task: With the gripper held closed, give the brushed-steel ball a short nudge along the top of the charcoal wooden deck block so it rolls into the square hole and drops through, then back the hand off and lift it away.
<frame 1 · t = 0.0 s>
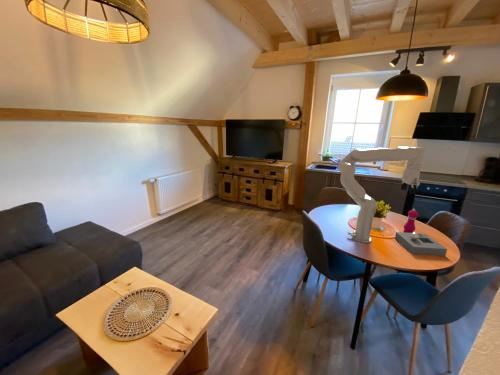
hand: (407, 191, 143), 37 cm above the table, tool pointing down, fingers open, 9 cm apart
board: (418, 246, 147), on the table
pepper mill: (408, 233, 166), on the table
ball: (414, 236, 145), point 7 cm above the table, touching board
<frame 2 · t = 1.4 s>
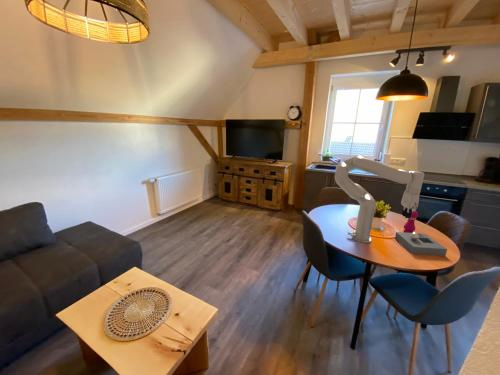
hand: (406, 216, 142), 21 cm above the table, tool pointing down, fingers closed
nothing on the table moved.
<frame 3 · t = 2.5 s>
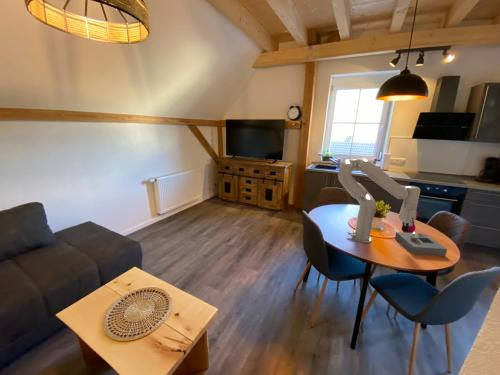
hand: (404, 230, 145), 11 cm above the table, tool pointing down, fingers closed
nothing on the table moved.
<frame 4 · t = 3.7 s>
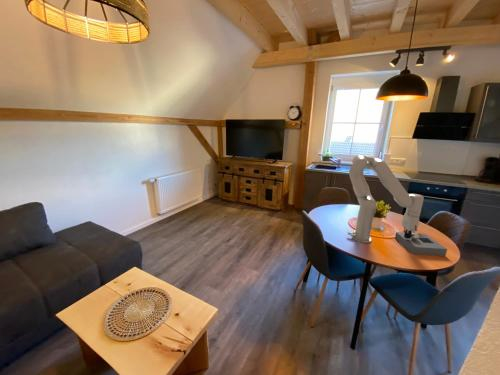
hand: (407, 237, 146), 6 cm above the table, tool pointing down, fingers closed
nothing on the table moved.
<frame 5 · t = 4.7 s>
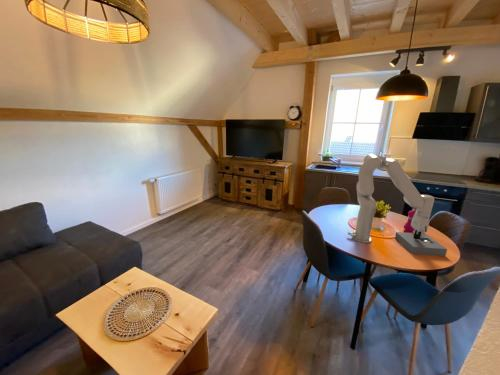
hand: (416, 238, 145), 6 cm above the table, tool pointing down, fingers closed
ball: (426, 243, 145), point 2 cm above the table, tilted 114°
everything else where it was.
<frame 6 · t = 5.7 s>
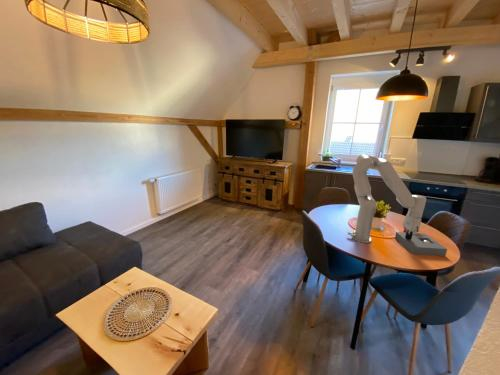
hand: (408, 238, 146), 5 cm above the table, tool pointing down, fingers closed
nothing on the table moved.
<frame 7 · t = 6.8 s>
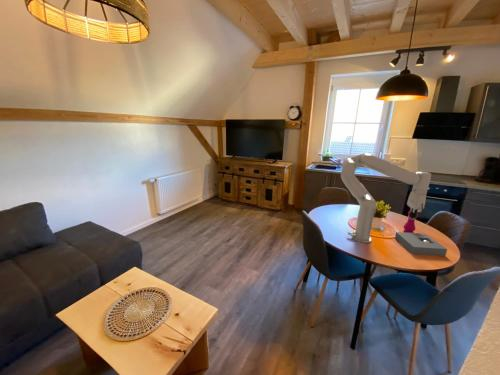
hand: (412, 217, 142), 21 cm above the table, tool pointing down, fingers closed
ball: (425, 243, 146), point 2 cm above the table, tilted 124°
everything else where it was.
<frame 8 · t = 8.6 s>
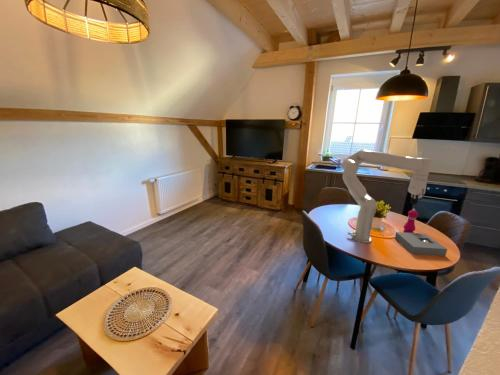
hand: (413, 203, 143), 29 cm above the table, tool pointing down, fingers closed
ball: (425, 243, 146), point 2 cm above the table, tilted 132°
everything else where it was.
at the end: ball 0.4 cm from the target spot on the board, point 2.5 cm above the board's base; the gripper is holding nothing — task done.
